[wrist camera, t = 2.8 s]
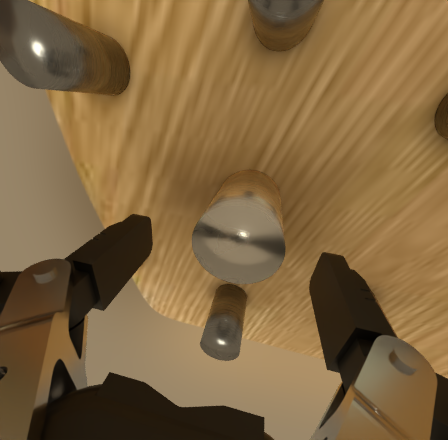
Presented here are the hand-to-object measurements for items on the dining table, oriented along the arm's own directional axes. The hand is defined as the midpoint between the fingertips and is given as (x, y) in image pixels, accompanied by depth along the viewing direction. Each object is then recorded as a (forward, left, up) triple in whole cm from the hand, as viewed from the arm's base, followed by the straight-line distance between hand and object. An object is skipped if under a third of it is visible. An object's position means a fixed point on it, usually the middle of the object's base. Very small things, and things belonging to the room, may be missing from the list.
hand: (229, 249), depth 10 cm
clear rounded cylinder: (0, 0, -6) cm, 6 cm away
